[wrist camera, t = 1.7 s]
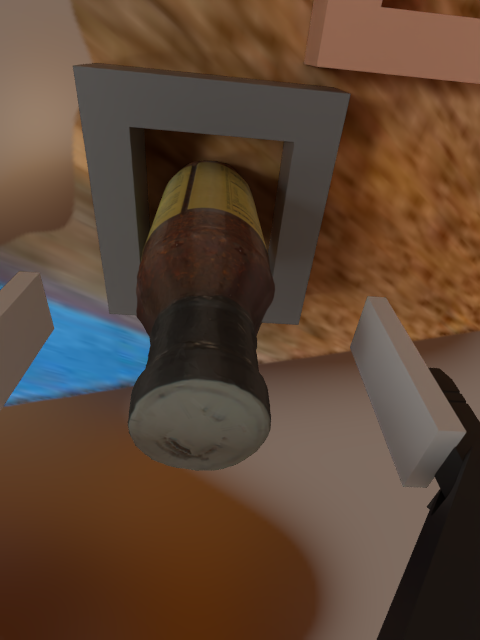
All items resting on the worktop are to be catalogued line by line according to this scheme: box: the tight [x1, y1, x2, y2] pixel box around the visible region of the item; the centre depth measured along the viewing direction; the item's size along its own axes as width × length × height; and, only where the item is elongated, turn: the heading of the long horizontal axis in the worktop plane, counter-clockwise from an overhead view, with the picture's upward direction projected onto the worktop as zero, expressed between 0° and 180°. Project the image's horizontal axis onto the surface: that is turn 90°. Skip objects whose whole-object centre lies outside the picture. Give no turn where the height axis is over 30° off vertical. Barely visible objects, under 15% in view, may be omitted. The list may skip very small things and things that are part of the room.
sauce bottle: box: [128, 161, 275, 470], centre depth 18 cm, size 6×6×20 cm
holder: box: [73, 63, 350, 325], centre depth 25 cm, size 14×15×4 cm
